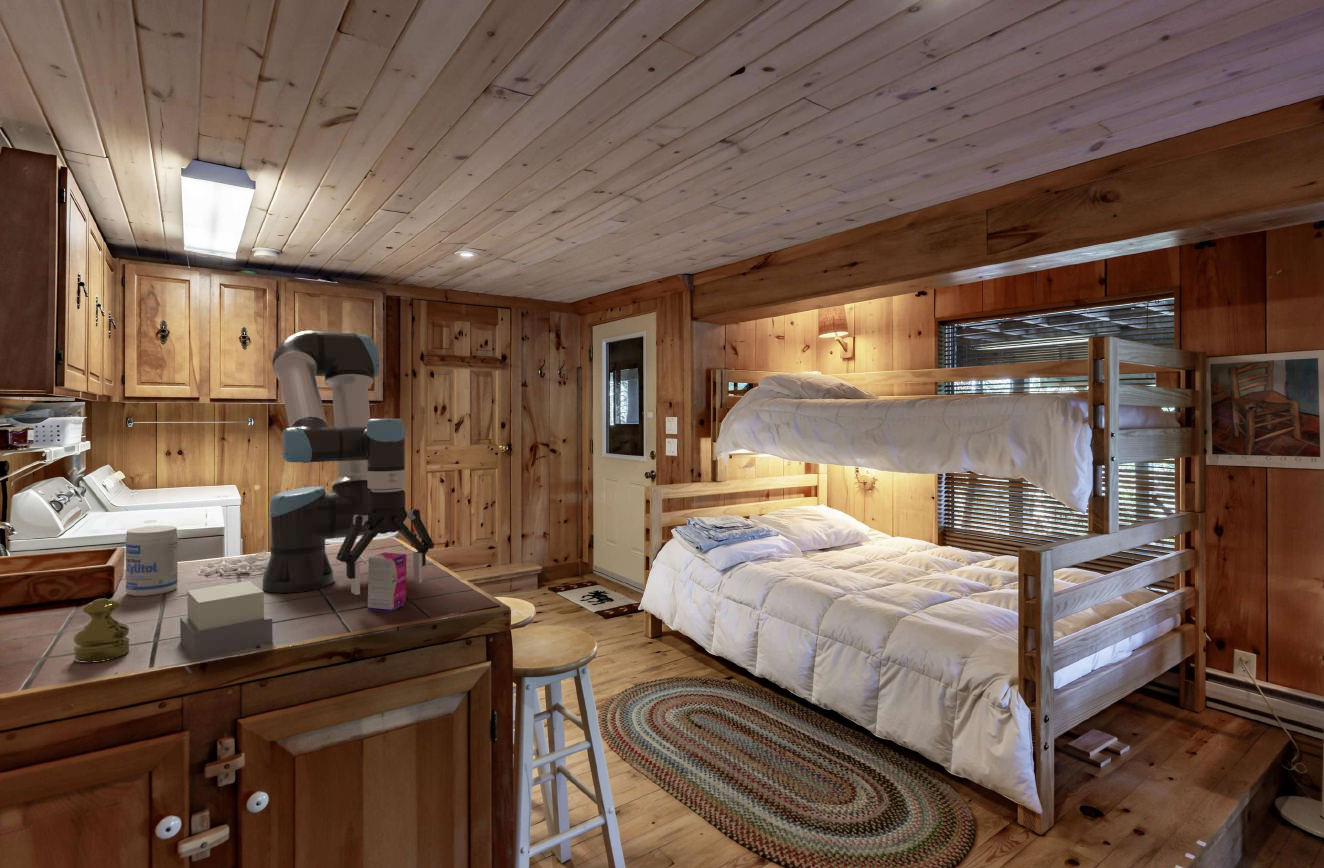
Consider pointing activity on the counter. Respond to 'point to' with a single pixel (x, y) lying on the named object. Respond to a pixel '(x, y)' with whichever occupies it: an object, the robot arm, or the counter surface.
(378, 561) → the supplement box
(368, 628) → the counter surface
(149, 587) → the supplement tub
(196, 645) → the tower base
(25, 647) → the counter surface
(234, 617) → the tower top
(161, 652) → the counter surface
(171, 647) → the counter surface
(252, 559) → the tangled rod sculpture
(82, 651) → the olive coiled snake figurine
